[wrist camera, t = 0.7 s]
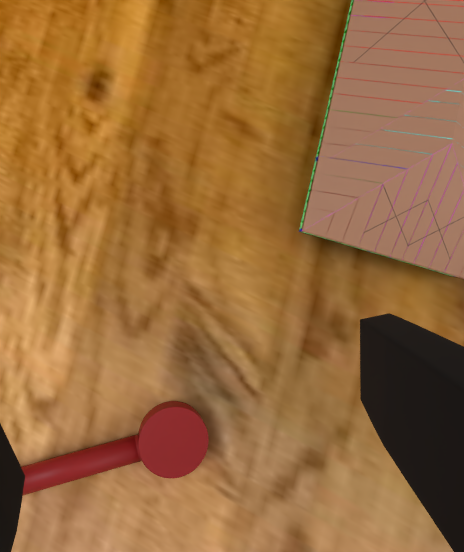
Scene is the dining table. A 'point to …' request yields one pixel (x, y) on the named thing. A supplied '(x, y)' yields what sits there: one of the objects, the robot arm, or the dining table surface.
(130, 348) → the dining table surface
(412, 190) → the house
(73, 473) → the spoon
